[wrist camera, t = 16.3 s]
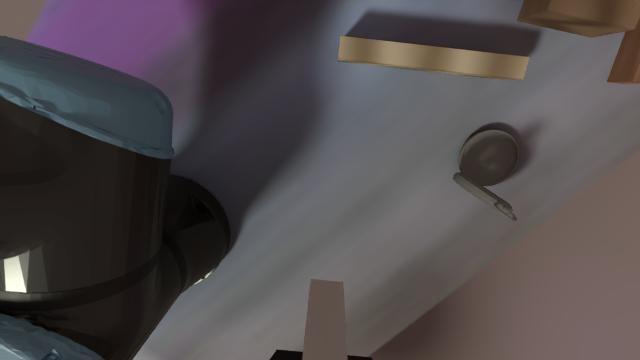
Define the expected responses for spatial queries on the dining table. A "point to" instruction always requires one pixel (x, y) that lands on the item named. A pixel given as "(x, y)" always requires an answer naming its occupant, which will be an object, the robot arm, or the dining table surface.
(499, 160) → the pocket watch
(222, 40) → the dining table surface
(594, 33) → the block
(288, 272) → the dining table surface
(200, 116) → the dining table surface
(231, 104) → the dining table surface
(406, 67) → the brown wooden pieces
